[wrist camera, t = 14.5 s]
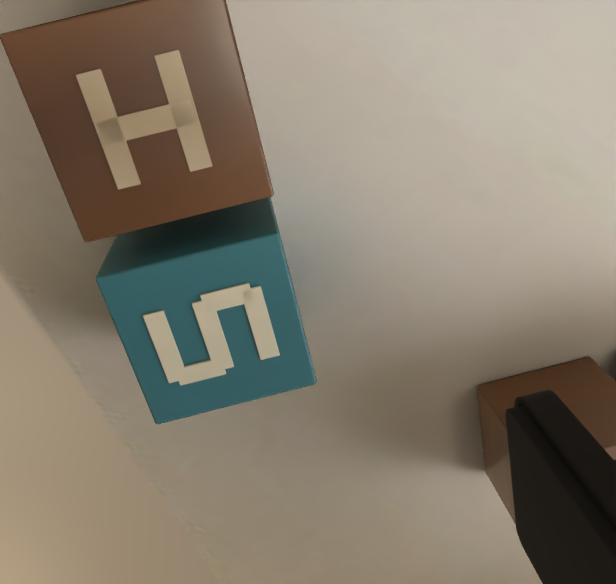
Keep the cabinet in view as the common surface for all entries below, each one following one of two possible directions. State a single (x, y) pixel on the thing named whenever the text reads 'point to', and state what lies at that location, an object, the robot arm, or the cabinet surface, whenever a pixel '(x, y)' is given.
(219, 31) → the letter h block
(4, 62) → the cabinet surface
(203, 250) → the letter s
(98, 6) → the cabinet surface
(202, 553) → the cabinet surface
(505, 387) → the wooden toy block
